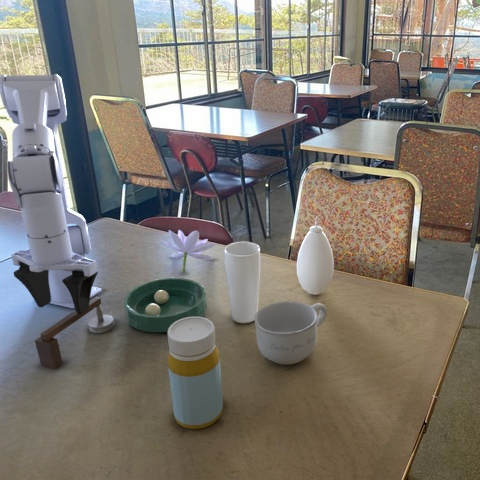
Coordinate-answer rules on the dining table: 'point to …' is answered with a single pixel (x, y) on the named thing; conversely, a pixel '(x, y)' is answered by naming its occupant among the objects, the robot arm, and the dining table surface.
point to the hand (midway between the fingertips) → (63, 307)
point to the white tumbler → (243, 279)
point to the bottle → (194, 372)
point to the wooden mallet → (48, 344)
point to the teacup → (288, 330)
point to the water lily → (188, 246)
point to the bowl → (177, 307)
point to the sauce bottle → (315, 261)
